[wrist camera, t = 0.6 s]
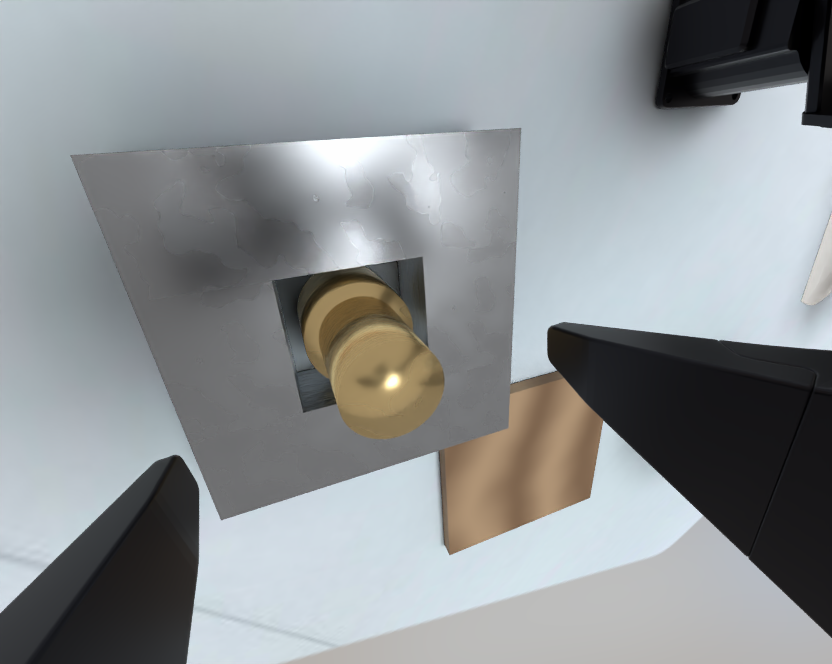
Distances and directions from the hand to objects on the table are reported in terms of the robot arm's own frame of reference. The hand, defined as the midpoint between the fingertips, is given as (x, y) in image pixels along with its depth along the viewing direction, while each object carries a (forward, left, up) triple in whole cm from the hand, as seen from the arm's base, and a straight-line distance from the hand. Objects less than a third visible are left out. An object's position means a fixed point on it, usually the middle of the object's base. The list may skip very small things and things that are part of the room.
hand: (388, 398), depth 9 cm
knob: (-1, +2, -12) cm, 13 cm away
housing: (-1, +2, -12) cm, 12 cm away
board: (-13, +17, -12) cm, 25 cm away
